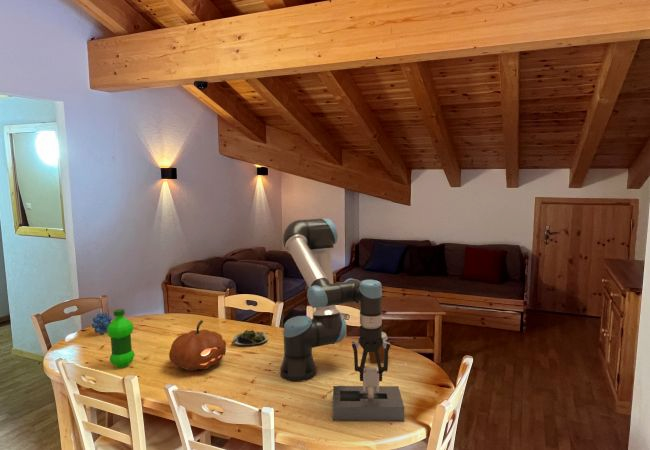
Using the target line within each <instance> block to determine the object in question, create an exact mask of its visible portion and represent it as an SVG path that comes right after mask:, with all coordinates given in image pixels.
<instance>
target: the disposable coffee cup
mask: <svg viewBox="0 0 650 450" xmlns="http://www.w3.org/2000/svg"><path fill="white" fill-rule="evenodd" d="M382 339H383V341H385V342H387V340H388V335H387V334H386V332H384V331H382ZM378 353H379V358H380V363H384V347H383V344H382V346H381V347H380V348H379V349H378ZM368 357H369V361H370V362H371V363H375V364H377V361H376V356H375V352H368Z"/></svg>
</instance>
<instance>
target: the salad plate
mask: <svg viewBox="0 0 650 450" xmlns="http://www.w3.org/2000/svg"><path fill="white" fill-rule="evenodd" d="M267 342H268V335H267V333H266V332H263V331H254V330H249V329H246V330H245V331H243V332H241V333H238V334H236V335H234V337H233V340H232V342H231V345H232V344H233V345H235V346H237V347H240V348H249V347H251V348H252V347H259V346H262V345H265V344H266V343H267Z"/></svg>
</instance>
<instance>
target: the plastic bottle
mask: <svg viewBox="0 0 650 450" xmlns="http://www.w3.org/2000/svg"><path fill="white" fill-rule="evenodd" d="M125 312H126V311H125V309H124V308H120V309H117V308H116V309H114V310H113V316H114V317H115V318H114V319H113V320H111V321H110V322H111V323H110V324H109V326H108V328H107V332H106V334H107V336H108V337H109V338H110V345H111V346H110V347H111V348H110V349H111V353H110V357H109V361H110V363H111V364H112V365H113V366H115V367H116V368H118V369H119V368H126V367H128V366H129V365H130V364H131V363H133V360H134V358H135V351H134V350H133V347H132V336H131V334H132V333H133V331H134V324H133V322H132V321H130V320H129V319H127V318H126V317H124V315H125V314H126V313H125Z"/></svg>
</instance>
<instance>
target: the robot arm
mask: <svg viewBox="0 0 650 450" xmlns="http://www.w3.org/2000/svg"><path fill="white" fill-rule="evenodd" d="M338 238H339V234H338V229H337V226H336V224H335V222H333V221H332V219H331V218H312V219H297V220H294V221H292V222H290V223H289V224H288V225H287V226H286V228H285V229H284V232H283V235H282V243H283V247H284V249H285V251H286V252H287V253H288V254H289V255H291V257H292V259H293V261H294V262H295V264H296V266H297V268H298V269H299V272H300V274H301V276H302V277H303V279H304V281H305V282H306V285H307V287H308V289H307V292H306V297H307V301H308V304H309V305H310V306H311V307H312V308H315V311H314V312H313V313H312V318H311V317H310V316H308V315H297V316H293V317H291V318H289V319H287V320H286V321H285V323H284V325H283V332H282V335H283V354H284V355H283V359H282V363H281V366H280V377H281V378H282V379H284V380H286V381H289V382H297V383H298V382H304V381H309V380H311V379H313V378H314V377H315V376H316V374H317V365H316V362H315V360H314V357H313V349H314V348H318V347H322V346H327V345H328V346H329V345H335V344H338V343H341V342H343V340H344V339H345V337H346V334H347V322H346V320H345V317H344V316H343V314H341V313H340V309H337V307H336V305H345V304H348V303H349V304H350V303H356V304H357V305H359V325H360V326H359V338H358V340H357V341H352V342H351V348H352V350H353V361H354V371H355V372H359V380H360V382H362V386H363V391H365V367H366V366H365V365H366V361H367V356H368V354H369V352H375V356H376V361H377V363H376V366H377V386H376V389H377V392H379V386H380V382H383V373H384V372H388V367H389V366H388V365H389V351H390V349H391V343H390V341H386V342H385V341H383V339H382V332H383V331H382V330H383V326H382V323H383V321H382V320H383V319H382V317H383V316H382V315H383V290H382V286H383V285H382V283H381V281H378V280H375V279H364V280H359V279H355V278H347V279H346V280H345V281H343V282H335V283H334V278H333V277H334V276H333V264H332V255H331V253H332V251H333V250H334V245H336V244H337V242H338ZM382 344H383V347H384V361H383V366H382V364H381V363H382V362H381V363H380V358H379V353H378V349H379V348H380V347H381V346H382ZM359 346H360V347H361V348H362V349H363V350H362V356H361V361H360V365H359V359H358V357H359V354H358V349H359Z"/></svg>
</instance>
